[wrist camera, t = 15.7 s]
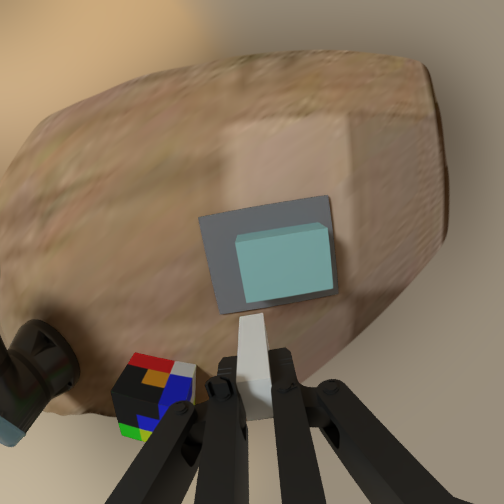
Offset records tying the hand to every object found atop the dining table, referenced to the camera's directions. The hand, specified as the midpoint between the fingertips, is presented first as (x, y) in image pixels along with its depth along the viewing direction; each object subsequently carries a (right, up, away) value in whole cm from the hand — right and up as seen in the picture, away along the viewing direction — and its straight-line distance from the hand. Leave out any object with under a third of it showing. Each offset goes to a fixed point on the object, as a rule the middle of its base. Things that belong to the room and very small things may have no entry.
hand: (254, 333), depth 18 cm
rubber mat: (+2, +5, +18) cm, 18 cm away
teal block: (-1, +3, +15) cm, 15 cm away
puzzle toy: (-14, -16, +23) cm, 31 cm away
